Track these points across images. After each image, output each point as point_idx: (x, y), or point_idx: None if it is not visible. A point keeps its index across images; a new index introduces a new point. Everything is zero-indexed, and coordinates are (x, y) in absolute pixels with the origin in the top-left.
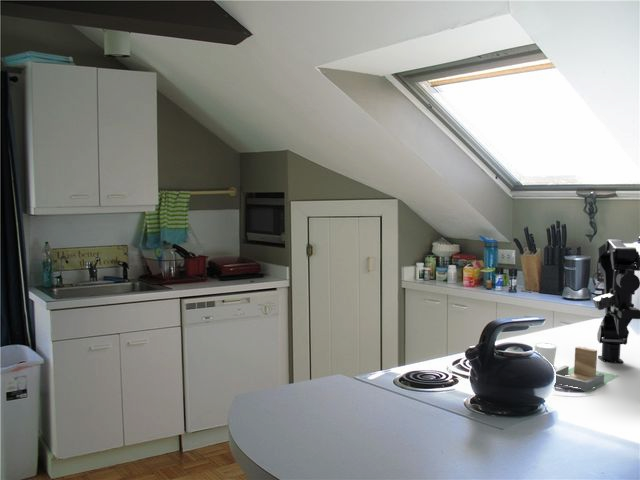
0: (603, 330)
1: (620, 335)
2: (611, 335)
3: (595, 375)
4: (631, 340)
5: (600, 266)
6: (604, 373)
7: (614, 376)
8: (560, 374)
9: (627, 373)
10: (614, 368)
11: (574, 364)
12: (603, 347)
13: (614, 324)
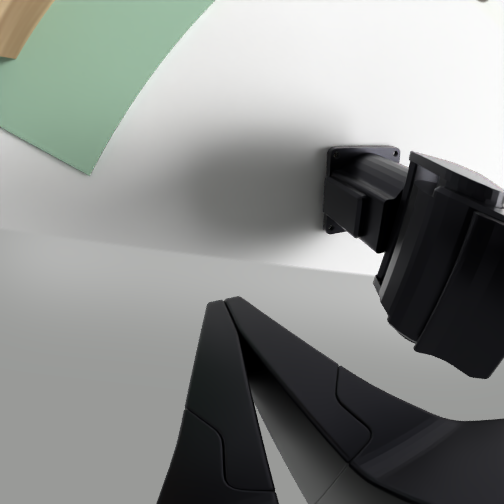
0: (456, 192)
1: (392, 288)
2: (409, 232)
3: (6, 56)
4: None
5: None
6: (111, 104)
7: (69, 151)
8: None
9: (161, 221)
10: (238, 174)
11: None
12: (398, 170)
13: (466, 294)
